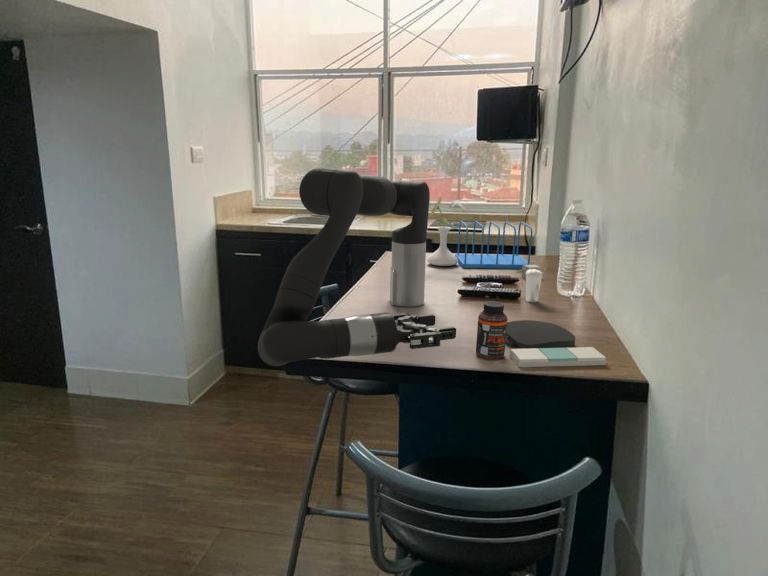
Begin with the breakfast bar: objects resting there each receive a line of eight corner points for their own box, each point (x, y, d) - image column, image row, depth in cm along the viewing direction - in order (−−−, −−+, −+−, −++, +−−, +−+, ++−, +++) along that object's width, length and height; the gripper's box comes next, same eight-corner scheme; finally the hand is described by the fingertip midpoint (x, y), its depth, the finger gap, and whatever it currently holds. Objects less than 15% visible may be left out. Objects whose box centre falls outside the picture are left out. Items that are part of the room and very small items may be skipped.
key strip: (518, 367, 108) (519, 359, 108) (509, 355, 114) (509, 348, 114) (605, 365, 110) (606, 357, 110) (592, 354, 116) (592, 346, 115)
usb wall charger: (539, 278, 182) (540, 266, 181) (521, 279, 180) (522, 267, 179) (532, 275, 186) (533, 264, 185) (514, 277, 183) (515, 265, 182)
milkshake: (543, 303, 152) (546, 268, 150) (523, 302, 153) (526, 267, 151) (542, 299, 157) (545, 265, 154) (523, 298, 158) (525, 264, 155)
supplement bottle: (487, 362, 110) (491, 309, 107) (469, 353, 115) (472, 301, 113) (510, 358, 113) (514, 305, 110) (492, 348, 118) (495, 298, 115)
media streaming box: (581, 350, 119) (583, 337, 118) (522, 356, 115) (523, 343, 114) (544, 328, 132) (545, 317, 132) (489, 333, 128) (490, 321, 128)
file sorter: (462, 269, 195) (464, 226, 191) (454, 259, 212) (456, 219, 208) (531, 269, 196) (535, 226, 192) (518, 259, 213) (521, 220, 209)
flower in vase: (436, 260, 208) (439, 194, 202) (463, 264, 201) (467, 196, 195) (418, 266, 198) (420, 196, 191) (446, 270, 191) (449, 198, 185)
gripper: (382, 326, 94) (464, 317, 101) (355, 305, 107) (428, 298, 113) (381, 367, 96) (461, 356, 102) (354, 341, 109) (427, 332, 115)
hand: (444, 325), depth 108 cm, fingers open, 8 cm apart
